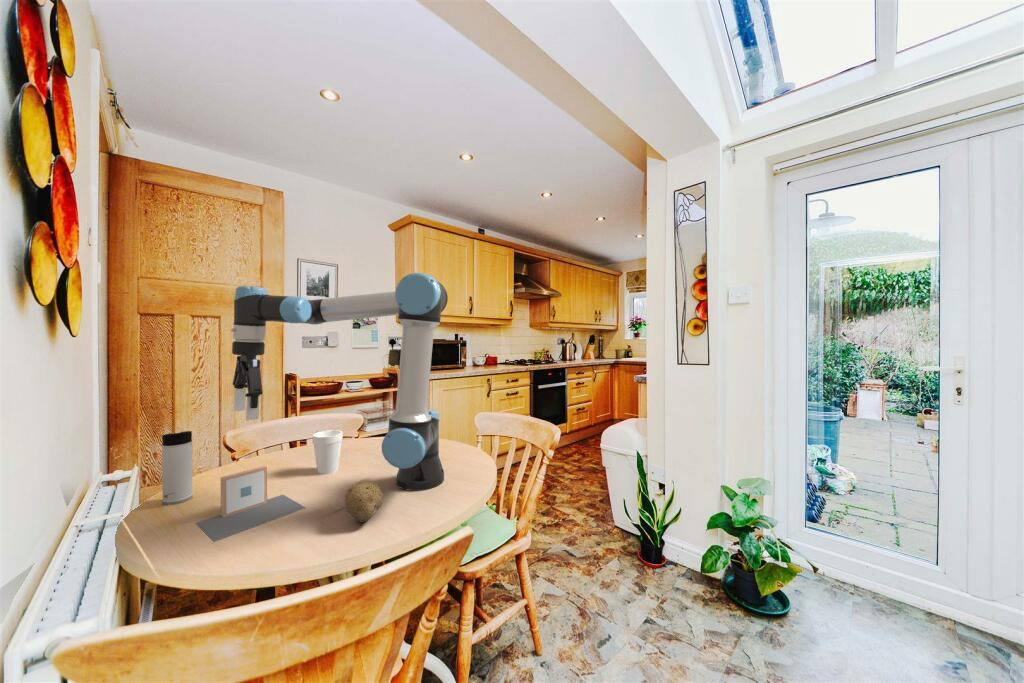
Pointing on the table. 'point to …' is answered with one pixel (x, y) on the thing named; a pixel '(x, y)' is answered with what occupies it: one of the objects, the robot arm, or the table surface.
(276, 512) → the felt mat
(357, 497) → the natural sponge
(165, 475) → the travel mug
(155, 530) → the table surface
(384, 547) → the table surface
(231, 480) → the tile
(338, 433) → the foam cup
